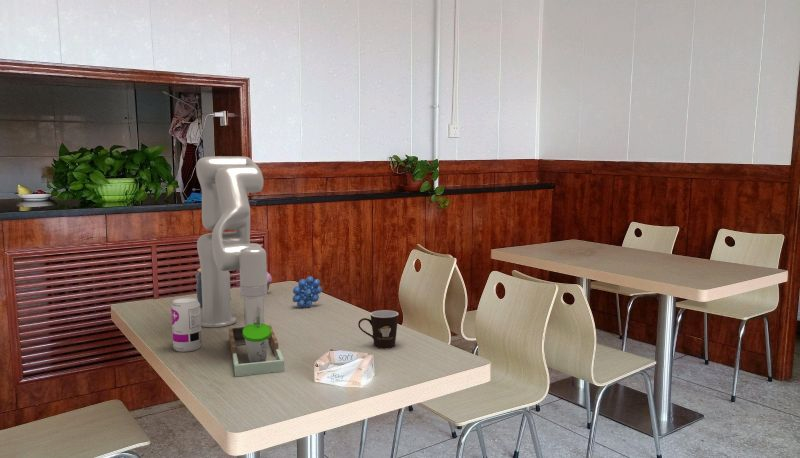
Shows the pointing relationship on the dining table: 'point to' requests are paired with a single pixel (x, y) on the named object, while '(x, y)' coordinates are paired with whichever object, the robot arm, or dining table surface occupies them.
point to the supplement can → (186, 324)
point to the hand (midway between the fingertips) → (256, 352)
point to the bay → (259, 366)
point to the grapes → (307, 292)
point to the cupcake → (268, 280)
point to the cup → (257, 340)
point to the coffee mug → (383, 328)
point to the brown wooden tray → (238, 339)
